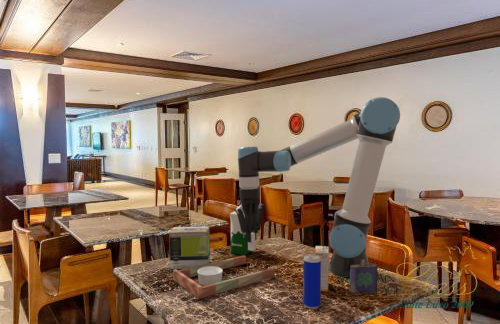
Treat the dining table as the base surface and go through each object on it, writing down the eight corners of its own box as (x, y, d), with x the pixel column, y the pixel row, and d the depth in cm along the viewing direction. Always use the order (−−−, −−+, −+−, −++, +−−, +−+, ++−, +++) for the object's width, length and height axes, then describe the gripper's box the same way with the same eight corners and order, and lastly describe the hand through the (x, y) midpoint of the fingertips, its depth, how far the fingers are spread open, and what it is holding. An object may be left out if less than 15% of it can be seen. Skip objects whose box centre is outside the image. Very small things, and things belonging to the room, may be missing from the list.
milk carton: (253, 250, 164) (253, 206, 163) (245, 256, 156) (245, 210, 155) (236, 248, 168) (236, 205, 166) (227, 253, 159) (227, 208, 158)
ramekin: (198, 277, 131) (198, 266, 131) (223, 277, 132) (223, 265, 131) (196, 287, 123) (195, 275, 122) (222, 287, 123) (222, 274, 123)
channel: (274, 276, 132) (274, 267, 132) (198, 298, 114) (198, 287, 114) (244, 262, 148) (244, 253, 147) (173, 279, 129) (173, 269, 129)
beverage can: (307, 300, 113) (308, 252, 112) (323, 304, 110) (323, 255, 109) (300, 306, 108) (300, 257, 108) (316, 311, 105) (316, 260, 105)
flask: (351, 294, 117) (351, 261, 117) (347, 290, 120) (348, 258, 120) (378, 293, 118) (379, 260, 118) (374, 289, 121) (375, 258, 121)
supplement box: (328, 292, 119) (329, 253, 118) (313, 291, 120) (314, 252, 119) (328, 282, 127) (328, 245, 126) (314, 281, 128) (314, 245, 127)
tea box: (210, 260, 150) (210, 225, 149) (208, 269, 140) (208, 231, 139) (173, 261, 150) (173, 225, 149) (169, 269, 140) (168, 231, 139)
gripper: (256, 185, 142) (258, 244, 143) (229, 188, 134) (231, 251, 135) (269, 186, 136) (271, 248, 137) (241, 190, 128) (243, 255, 129)
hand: (251, 250), depth 136 cm, fingers closed
